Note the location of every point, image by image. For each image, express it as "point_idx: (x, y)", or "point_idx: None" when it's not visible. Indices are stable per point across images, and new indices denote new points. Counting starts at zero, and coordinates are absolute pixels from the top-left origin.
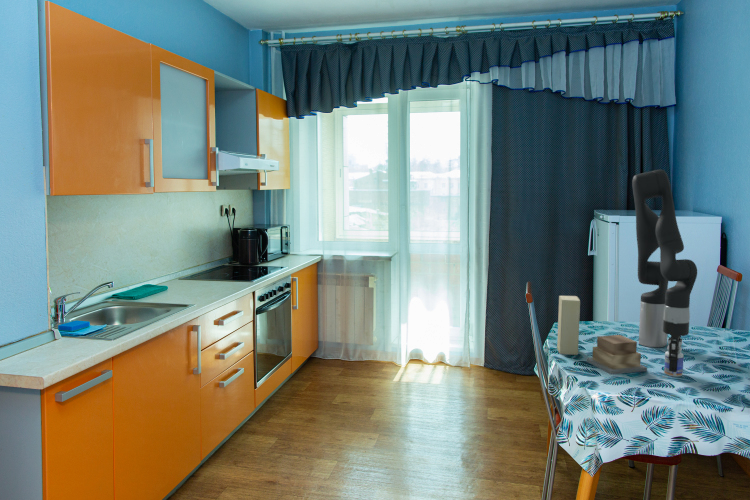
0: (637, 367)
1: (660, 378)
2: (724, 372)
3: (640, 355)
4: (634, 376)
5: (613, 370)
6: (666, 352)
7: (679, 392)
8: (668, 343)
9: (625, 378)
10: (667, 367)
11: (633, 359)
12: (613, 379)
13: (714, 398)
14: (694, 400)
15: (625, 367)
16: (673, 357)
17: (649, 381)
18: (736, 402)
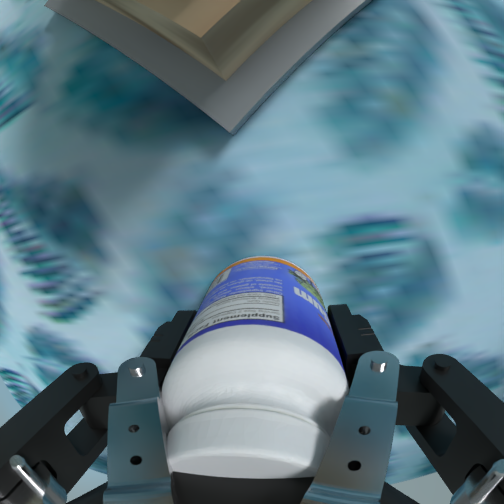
0: (184, 71)
1: (128, 247)
2: (410, 453)
3: (202, 43)
4: (75, 106)
5: (54, 7)
6: (210, 365)
7: (27, 338)
8: (108, 495)
9: (30, 87)
10: (203, 301)
11: (152, 20)
12: (4, 60)
13: (71, 428)
14: (12, 374)
15: (129, 17)
16: (80, 411)
17: (47, 203)
18: (94, 463)
